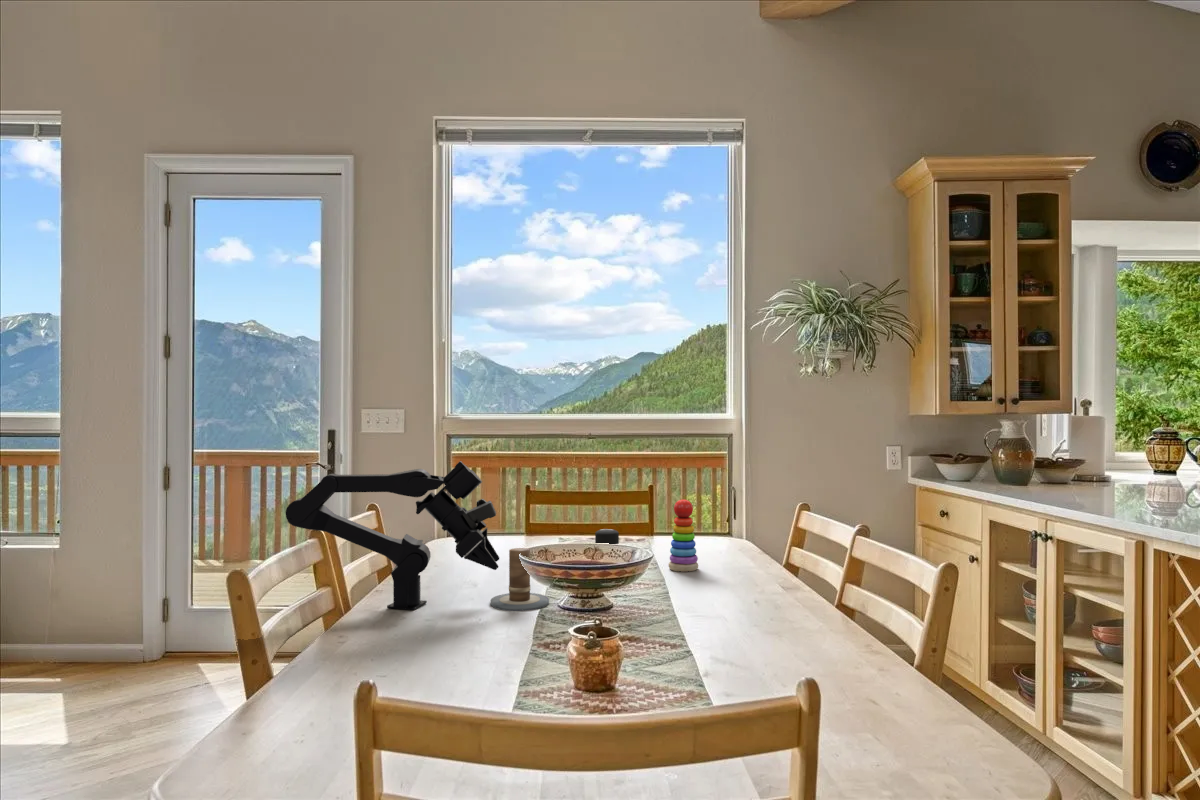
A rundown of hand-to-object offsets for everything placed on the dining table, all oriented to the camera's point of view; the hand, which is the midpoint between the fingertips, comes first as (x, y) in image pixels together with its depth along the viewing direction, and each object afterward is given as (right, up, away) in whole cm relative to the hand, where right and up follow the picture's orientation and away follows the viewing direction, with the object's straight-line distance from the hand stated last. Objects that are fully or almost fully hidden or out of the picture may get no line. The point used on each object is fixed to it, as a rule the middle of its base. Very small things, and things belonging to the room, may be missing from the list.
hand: (497, 564), depth 180 cm
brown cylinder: (+5, -8, +1) cm, 9 cm away
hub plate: (+5, -9, +1) cm, 10 cm away
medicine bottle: (+25, -9, +27) cm, 38 cm away
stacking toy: (+45, -9, +37) cm, 59 cm away
